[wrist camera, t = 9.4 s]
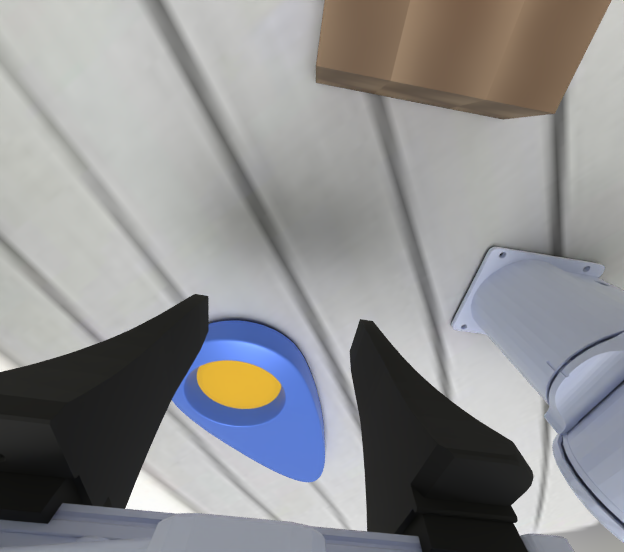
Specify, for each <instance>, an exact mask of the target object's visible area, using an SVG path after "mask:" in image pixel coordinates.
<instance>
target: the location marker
mask: <svg viewBox="0 0 624 552" xmlns="http://www.w3.org/2000/svg"><path fill="white" fill-rule="evenodd" d="M172 401H173V402H174V403H175V405H176V406H177V407H178V408H179V409H180V410H181V411H182V412H183V413H184V414H186V415H187V416H188V417H189V418H190V419H192V420H193V421H194V422H195V423H197V424H198V425H199V426H201V427H202V428H203V429H205V430H206V431H208V432H209V433H210V434H212V435H213V436H215V437H217V438H218V439H220V440H221V441H223V442H224V443H226V444H228V445H229V446H231V447H233V448H234V449H236V450H237V451H239V452H241V453H242V454H244V455H246V456H247V457H249V458H251V459H253V460H254V461H256V462H258V463H260V464H261V465H263V466H265V467H267V468H269V469H271V470H273V471H275V472H277V473H279V474H282V475H284V476H286V477H289V478H292V479H295V480H298V481H302V482H313V481H315V480H317V479H318V478H319V477H320V476H321V474H322V472H323V468H324V463H325V441H324V424H323V416H322V411H321V405H320V401H319V397H318V393H317V389H316V386H315V383H314V380H313V377H312V374H311V372H310V369H309V367H308V365H307V363H306V361H305V359H304V357H303V355H302V353H301V352H300V350H299V349H298V348H297V347H296V345H295V344H294V343H293V342H292V341H291V340H289V339H288V338H287V337H285V336H284V335H283V334H281V333H279V332H278V331H276V330H274V329H271V328H269V327H267V326H264V325H261V324H257V323H253V322H248V321H238V320H229V321H219V322H214V323H210V324H209V331H208V333H207V336H206V338H205V341H204V343H203V345H202V348H201V350H200V352H199V353H198V355H197V357H196V359H195V360H194V362H193V364H192V366H191V367H190V369H189V371H188V372H187V374H186V376H185V377H184V379H183V381H182V382H181V384H180V386H179V388H178V389H177V391H176V393H175V395H174V396H173V398H172Z"/></svg>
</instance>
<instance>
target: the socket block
mask: <svg viewBox="0 0 624 552" xmlns="http://www.w3.org/2000/svg"><path fill="white" fill-rule="evenodd" d="M610 2H611V0H325V3H324V10H323V18H322V25H321V32H320V40H319V47H318V55H317V62H316V83H321V84H326V85H331V86H336V87H341V88H346V89H351V90H356V91H361V92H366V93H372V94H377V95H382V96H387V97H392V98H397V99H402V100H407V101H412V102H418V103H423V104H428V105H433V106H438V107H443V108H448V109H453V110H458V111H463V112H469V113H474V114H479V115H484V116H489V117H494V118H499V119H511V118H519V117H528V116H537V115H546V114H555V112H556V110H557V108H558V106H559V104H560V102H561V100H562V98H563V96H564V94H565V92H566V90H567V88H568V86H569V84H570V82H571V80H572V78H573V76H574V74H575V72H576V70H577V68H578V66H579V64H580V62H581V60H582V58H583V56H584V54H585V52H586V50H587V48H588V46H589V44H590V42H591V40H592V38H593V36H594V34H595V32H596V30H597V28H598V26H599V24H600V22H601V20H602V18H603V16H604V14H605V12H606V10H607V8H608V6H609V4H610Z"/></svg>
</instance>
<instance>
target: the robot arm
mask: <svg viewBox="0 0 624 552" xmlns="http://www.w3.org/2000/svg"><path fill="white" fill-rule="evenodd" d="M502 252H503V254H502V255H501V256H499V255H500V254H501V253H502ZM584 267H585V268H584ZM604 270H605V266H604V265H601V264H599V263H594V262H588V261H582V260H575V259H569V258H563V257H557V256H551V255H545V254H539V253H533V252H527V251H521V250H514V249H508V248H502V247H492V248H491V249H489V251H488V252H487V254H486V256H485V258H484V260H483V262H482V264H481V266H480V268H479V270H478V272H477V274H476V276H475V278H474V280H473V282H472V284H471V286H470V288H469V290H468V292H467V294H466V296H465V298H464V300H463V302H462V303H461V305H460V307H459V309H458V311H457V313H456V315H455V317H454V319H453V321H452V323H451V326H452V328H453V329H454V330H458V331H466V332H473V333H480V334H487V336H488V337H489V338H490V339H491V340H492V341H493V342H494V344H495V345H496V346H497V347H498V348H499V349H500V350H501V351H502V353H503V354H504V355H505V356H506V357H507V358H508V359H509V361H510V362H511V363H512V364H513V365H514V366H515V367H516V369H517V370H518V371H519V372H520V373H521V374H522V375H523V377H524V378H525V379H526V380H527V381H528V382H529V383H530V384H531V386H532V387H533V388H534V389H535V390H536V391H537V392H538V394H539V395H540V396H541V397H542V398H543V399H544V400H545V402H546V403H547V404H548V405H549V409H548V411H547V412H546V414H545V415H544V417H545V419H546V420H547V421H548V422H549V423H550V425H551V426H552V427H553V428H554V429H555V431H556V432H557V433H558V435H557V436H556V437H555V439H554V441H553V446H552V448H553V454H554V457H555V460H556V463H557V465H558V467H559V469H560V471H561V473H562V475H563V476H564V478H565V479H566V481H567V483H568V484H569V486H570V487H571V489H572V490H573V492H574V493H575V495H576V496H577V497H578V498H579V500H580V501H581V502H582V503H583V505H584V506H585V507H586V508H587V509H588V510H589V511H590V513H591V514H592V515H593V516H594V517H595V518H596V519H597V520H598V521H599V522H600V523H601V524H602V525H603V526H604V527H605V528H607V529H608V530H609V531H610V532H611V533H612V534H613V535H614V536H616V537H617V538H618V539H619V540H620V541H622V542H623V543H624V290H622V289H620V288H618V287H616V286H614V285H612V284H610V283H608V282H606V281H604V280H602V279H600V278H599V277H600V276H601V275H602V273H603V272H604ZM462 325H464V326H462ZM208 331H209V324H208V296H204V295H198V294H194V295H192V296H191V297H189V298H187V299H185V300H184V301H182V302H180V303H179V304H177V305H175V306H174V307H172V308H170V309H169V310H167V311H165V312H163V313H162V314H160V315H158V316H156V317H154V318H152V319H150V320H149V321H147V322H145V323H143V324H141V325H139V326H137V327H135V328H133V329H131V330H129V331H127V332H124V333H122V334H120V335H117V336H115V337H113V338H110V339H108V340H106V341H103V342H100V343H98V344H95V345H92V346H89V347H87V348H84V349H81V350H78V351H75V352H72V353H69V354H66V355H63V356H60V357H57V358H53V359H50V360H46V361H43V362H39V363H36V364H32V365H28V366H24V367H20V368H16V369H12V370H8V371H3V372H0V552H574V550H573V548H572V547H571V545H570V544H569V542H568V540H567V539H566V538H564V537H561V536H551V535H542V534H525V535H521V536H520V535H519V533H518V531H517V529H516V527H515V526H514V524H513V523H516V522H517V516H516V514H515V512H514V510H513V509H512V507H511V505H512V504H513V503H514V502H515V501H516V500H517V499H518V498H519V497H520V496H522V495H523V494H524V493H525V492H526V491H527V490H528V489H529V487H530V486H531V484H532V481H533V472H532V470H531V468H530V467H529V465H528V464H527V462H526V461H525V459H524V458H523V456H522V455H521V453H520V452H519V450H518V449H517V447H516V446H515V444H514V443H513V442H512V441H511V440H509V439H507V438H506V437H504V436H502V435H501V434H499V433H498V432H496V431H494V430H493V429H491V428H489V427H488V426H486V425H484V424H483V423H481V422H480V421H478V420H477V419H475V418H474V417H473V416H471V415H470V414H468V413H467V412H465V411H464V410H462V409H461V408H460V407H458V406H457V405H456V404H454V403H453V402H452V401H450V400H449V399H448V398H447V397H445V396H444V395H443V394H442V393H440V392H439V391H438V390H437V389H435V388H434V387H433V386H432V385H431V384H430V383H429V382H427V381H426V380H425V379H424V378H423V377H422V376H421V375H420V374H419V373H418V372H417V371H416V370H415V369H414V368H413V367H412V366H411V365H410V364H409V363H408V362H407V361H406V360H405V359H404V358H403V357H402V356H401V355H400V353H399V352H398V351H397V350H396V349H395V348H394V347H393V345H392V344H391V343H390V342H389V341H388V339H387V338H386V337H385V336H384V334H383V333H382V332H381V331H380V329H379V328H378V327H377V326H376V325H375V323H374V322H373V321H368V320H361V319H360V321H359V325H358V328H357V331H356V334H355V337H354V340H353V343H352V346H351V349H350V363H351V373H352V379H353V384H354V390H355V395H356V400H357V405H358V410H359V416H360V422H361V431H362V442H363V454H364V468H365V485H366V504H367V532H366V531H356V530H345V529H334V528H324V527H313V526H308V525H303V524H299V523H294V522H287V521H276V520H266V519H255V518H244V517H234V516H223V515H213V514H202V513H182V514H174V513H164V512H153V511H142V510H132V509H125V508H126V505H127V503H128V500H129V497H130V495H131V492H132V490H133V487H134V485H135V482H136V480H137V477H138V475H139V472H140V470H141V468H142V465H143V463H144V460H145V458H146V456H147V453H148V451H149V448H150V446H151V444H152V442H153V439H154V437H155V435H156V432H157V430H158V428H159V426H160V423H161V421H162V419H163V417H164V415H165V413H166V411H167V408H168V406H169V404H170V402H171V400H172V398H173V396H174V395H175V393H176V391H177V389H178V388H179V386H180V384H181V382H182V381H183V379H184V377H185V376H186V374H187V372H188V371H189V369H190V367H191V366H192V364H193V362H194V360H195V359H196V357H197V355H198V353H199V352H200V350H201V348H202V345H203V343H204V341H205V338H206V336H207V333H208Z"/></svg>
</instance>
